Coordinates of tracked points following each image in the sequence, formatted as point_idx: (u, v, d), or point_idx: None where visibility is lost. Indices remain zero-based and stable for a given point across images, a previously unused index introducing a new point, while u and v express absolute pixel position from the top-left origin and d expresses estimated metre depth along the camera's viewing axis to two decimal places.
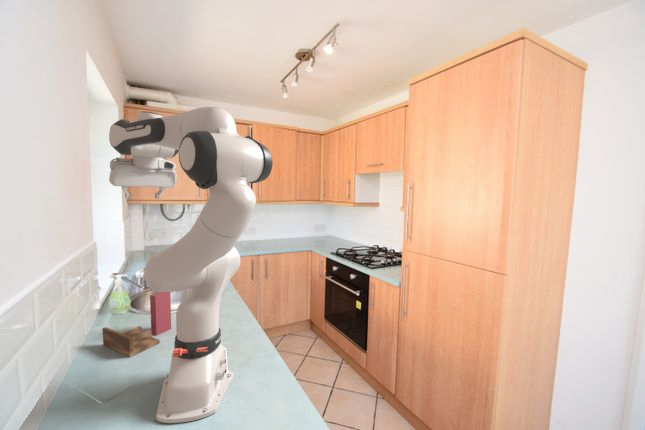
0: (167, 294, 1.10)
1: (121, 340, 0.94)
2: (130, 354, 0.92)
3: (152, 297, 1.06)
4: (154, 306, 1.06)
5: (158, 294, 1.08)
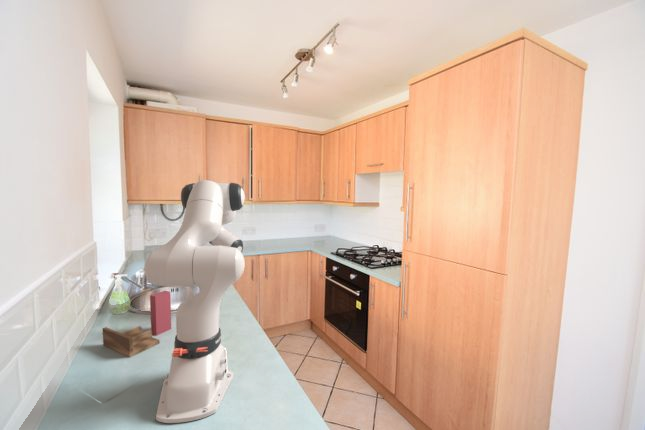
0: (167, 294, 1.10)
1: (121, 340, 0.94)
2: (130, 354, 0.92)
3: (152, 297, 1.06)
4: (154, 306, 1.06)
5: (158, 294, 1.08)
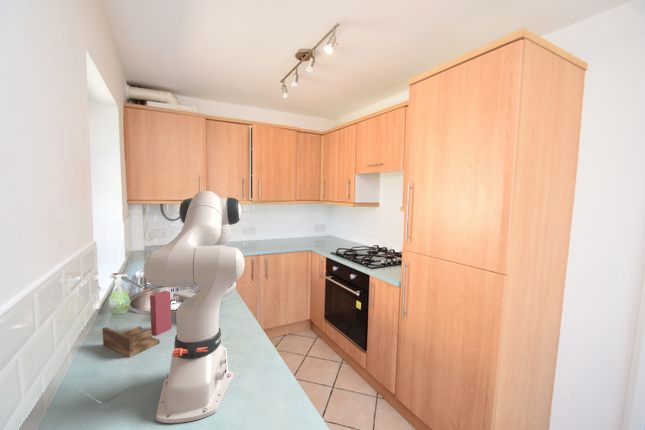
0: (167, 294, 1.10)
1: (121, 340, 0.94)
2: (130, 354, 0.92)
3: (152, 297, 1.06)
4: (154, 306, 1.06)
5: (158, 294, 1.08)
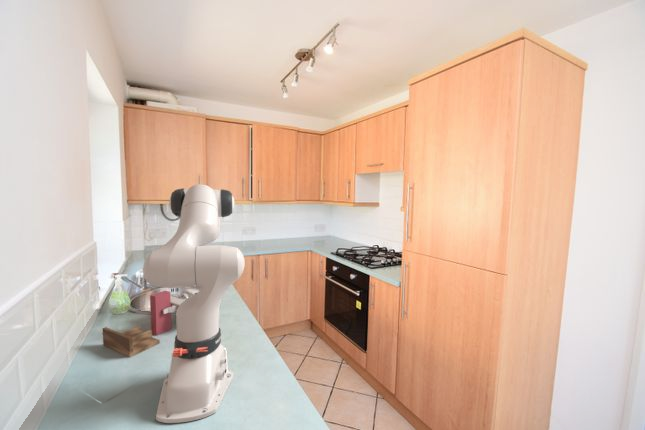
0: (167, 294, 1.10)
1: (121, 340, 0.94)
2: (130, 354, 0.92)
3: (152, 297, 1.06)
4: (154, 306, 1.06)
5: (158, 294, 1.08)
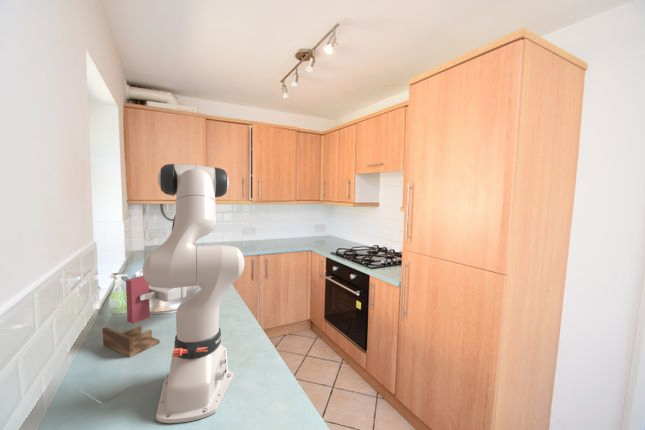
0: None
1: (121, 340, 0.94)
2: (130, 354, 0.92)
3: (128, 282, 0.98)
4: (130, 292, 0.98)
5: (135, 279, 1.00)
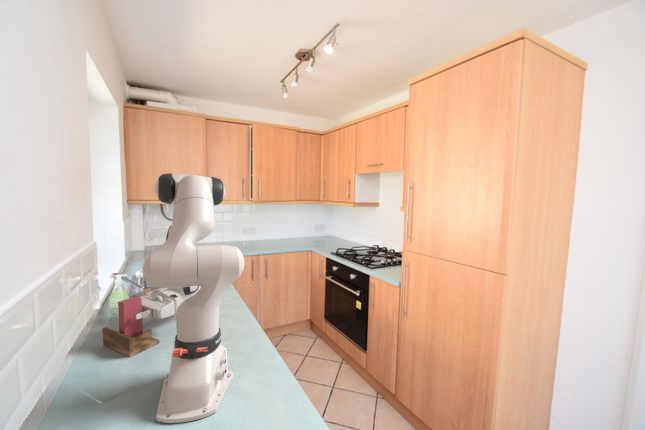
0: (138, 300, 1.00)
1: (121, 340, 0.94)
2: (130, 354, 0.92)
3: (120, 304, 0.96)
4: (122, 314, 0.96)
5: (127, 300, 0.98)
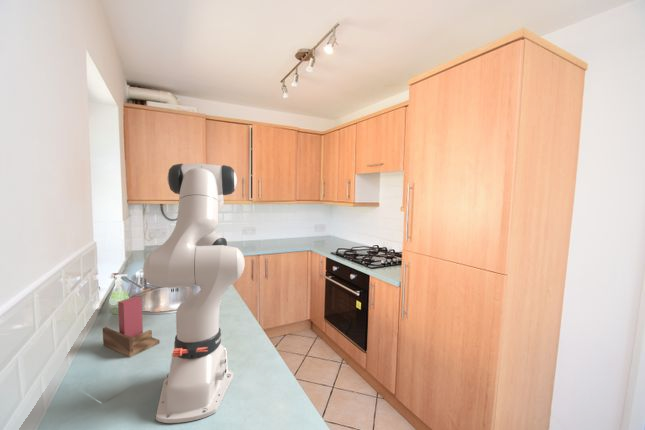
0: (138, 300, 1.00)
1: (121, 340, 0.94)
2: (130, 354, 0.92)
3: (120, 304, 0.96)
4: (122, 314, 0.96)
5: (127, 300, 0.98)
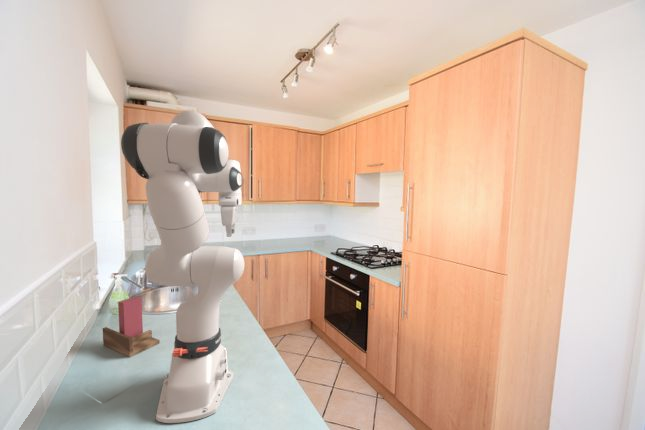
0: (138, 300, 1.00)
1: (121, 340, 0.94)
2: (130, 354, 0.92)
3: (120, 304, 0.96)
4: (122, 314, 0.96)
5: (127, 300, 0.98)
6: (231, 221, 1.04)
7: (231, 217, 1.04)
